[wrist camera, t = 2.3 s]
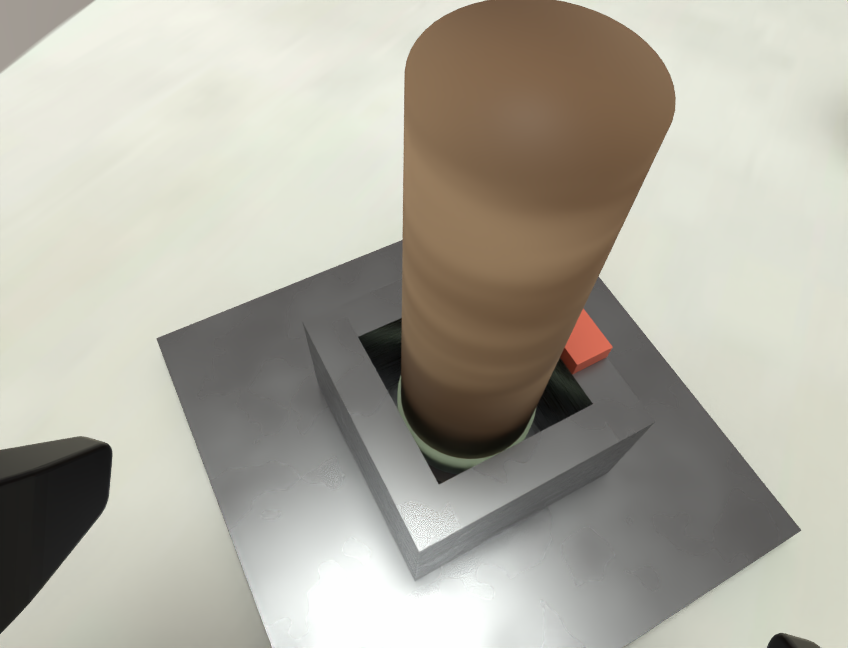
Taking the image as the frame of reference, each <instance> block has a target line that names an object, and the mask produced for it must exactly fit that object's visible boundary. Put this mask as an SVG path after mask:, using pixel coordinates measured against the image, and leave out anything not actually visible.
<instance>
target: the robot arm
mask: <svg viewBox="0 0 848 648" xmlns="http://www.w3.org/2000/svg"><path fill="white" fill-rule="evenodd" d="M111 467H112V449H111V447H110V446H109V444H107V443H105V442H102V441H99V440H95V439H91V438H88V437H82V436H79V437H73V438H67V439H61V440H55V441H49V442H44V443H38V444H32V445H26V446H20V447H15V448H9V449H3V450H0V634H1V633H2V632H3V631H4V630H5V629H6V628H7V627H8V625H9V624H10V623H11V622H12V621H13V620H14V619H15V618H16V617H17V616H18V615H19V614H20V613H21V612H22V611H23V610H24V608H25V607H26V606H27V605H28V604H29V603H30V602H31V601H32V599H33V598H34V597H35V596H36V595H37V594H38V592H39V591H40V590H41V589H42V588H43V586H44V585H45V584H46V583H47V581H48V580H49V579H50V578H51V576H52V575H53V574H54V573H55V571H56V570H57V569H58V568H59V566H60V565H61V564H62V563H63V561H64V560H65V559H66V558H67V556H68V555H69V554H70V553H71V551H72V550H73V549H74V548H75V546H76V545H77V544H78V543H79V541H80V540H81V539H82V538H83V537H84V535H85V534H86V533H87V532H88V530H89V529H90V528H91V527H92V525H93V524H94V523H95V522H96V520H97V519H98V518H99V517H100V515H101V514H102V512H103V510H104V509H105V507H106V504H107V501H108V498H109V489H110V478H111ZM767 648H820V647H819V646H818V645H817V644H815V643H814V642H812V641H809V640H806V639H803V638H799V637H796V636H792V635H788V634H784V633H779V634H776V635H774V636H773V637H772V639H771V640H770V642H769V644H768V646H767Z"/></svg>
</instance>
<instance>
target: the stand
mask: <svg viewBox="0 0 848 648" xmlns="http://www.w3.org/2000/svg"><path fill="white" fill-rule="evenodd" d="M402 253H403V240H401V241H399V242H396V243H394V244H391V245H389V246H386V247H384V248H381V249H379V250H376V251H374V252H371V253H369V254H366V255H364V256H361V257H359V258H356V259H354V260H351V261H349V262H346V263H344V264H341V265H339V266H336V267H334V268H331V269H329V270H326V271H324V272H321V273H319V274H316V275H314V276H311V277H309V278H306V279H304V280H301V281H299V282H296V283H294V284H291V285H289V286H286V287H284V288H281V289H279V290H276V291H274V292H271V293H269V294H266V295H264V296H261V297H259V298H256V299H254V300H251V301H249V302H246V303H244V304H241V305H239V306H236V307H234V308H231V309H229V310H226V311H224V312H221V313H219V314H216V315H214V316H211V317H209V318H206V319H204V320H201V321H199V322H196V323H194V324H191V325H189V326H186V327H184V328H181V329H179V330H176V331H174V332H171V333H169V334H166V335H164V336H161V337H159V338H157V341H158V344H159V346H160V349H161V352H162V354H163V357H164V360H165V362H166V365H167V368H168V370H169V373H170V376H171V378H172V381H173V384H174V386H175V389H176V392H177V395H178V397H179V400H180V403H181V405H182V408H183V411H184V413H185V416H186V419H187V421H188V424H189V427H190V429H191V432H192V435H193V437H194V440H195V443H196V445H197V448H198V451H199V453H200V456H201V459H202V461H203V464H204V467H205V469H206V472H207V475H208V477H209V480H210V483H211V485H212V488H213V491H214V493H215V496H216V499H217V501H218V504H219V507H220V509H221V512H222V515H223V517H224V520H225V523H226V525H227V528H228V531H229V533H230V536H231V539H232V541H233V544H234V547H235V550H236V552H237V555H238V558H239V560H240V563H241V566H242V568H243V571H244V574H245V576H246V579H247V582H248V584H249V587H250V590H251V592H252V595H253V598H254V600H255V603H256V606H257V608H258V611H259V614H260V616H261V619H262V622H263V624H264V627H265V630H266V632H267V635H268V638H269V640H270V643H271V646H272V648H623V647H625V646H626V645H628V644H629V643H631V642H632V641H634V640H635V639H637V638H639V637H640V636H642V635H643V634H645V633H646V632H648V631H649V630H651V629H652V628H654V627H655V626H657V625H658V624H660V623H661V622H663V621H664V620H666V619H667V618H669V617H670V616H672V615H673V614H675V613H677V612H678V611H680V610H681V609H683V608H684V607H686V606H687V605H689V604H690V603H692V602H693V601H695V600H696V599H698V598H699V597H701V596H702V595H704V594H705V593H707V592H708V591H710V590H711V589H713V588H715V587H716V586H718V585H719V584H721V583H722V582H724V581H725V580H727V579H728V578H730V577H731V576H733V575H734V574H736V573H737V572H739V571H740V570H742V569H743V568H745V567H746V566H748V565H750V564H751V563H753V562H754V561H756V560H757V559H759V558H760V557H762V556H763V555H765V554H766V553H768V552H769V551H771V550H772V549H774V548H775V547H777V546H778V545H780V544H781V543H783V542H784V541H786V540H788V539H789V538H791V537H792V536H794V535H795V534H797V533H798V532H800V531H801V529H800V528H799V527H798V526H797V524H796V523H795V522H794V521H793V519H792V518H791V517H790V516H789V514H788V513H787V512H786V511H785V509H784V508H783V507H782V506H781V504H780V503H779V502H778V501H777V499H776V498H775V497H774V496H773V494H772V493H771V492H770V491H769V489H768V488H767V487H766V486H765V484H764V483H763V482H762V481H761V479H760V478H759V477H758V476H757V474H756V473H755V472H754V471H753V469H752V468H751V467H750V466H749V464H748V463H747V462H746V461H745V459H744V458H743V457H742V456H741V454H740V453H739V452H738V451H737V449H736V448H735V447H734V445H733V444H732V443H731V442H730V440H729V439H728V438H727V437H726V435H725V434H724V433H723V432H722V430H721V429H720V428H719V427H718V425H717V424H716V423H715V422H714V420H713V419H712V418H711V417H710V415H709V414H708V413H707V412H706V410H705V409H704V408H703V407H702V405H701V404H700V403H699V402H698V400H697V399H696V398H695V397H694V395H693V394H692V393H691V392H690V390H689V389H688V388H687V387H686V385H685V384H684V383H683V382H682V380H681V379H680V378H679V377H678V375H677V374H676V373H675V372H674V370H673V369H672V368H671V367H670V365H669V364H668V363H667V362H666V360H665V359H664V358H663V357H662V355H661V354H660V353H659V352H658V350H657V349H656V348H655V347H654V345H653V344H652V343H651V342H650V340H649V339H648V338H647V337H646V335H645V334H644V333H643V332H642V330H641V329H640V328H639V327H638V325H637V324H636V323H635V322H634V320H633V319H632V318H631V317H630V315H629V314H628V313H627V312H626V310H625V309H624V308H623V306H622V305H621V304H620V303H619V301H618V300H617V299H616V298H615V296H614V295H613V294H612V293H611V291H610V290H609V289H608V288H607V286H606V285H605V284H604V283H603V281H602V280H601V279H600V278H599V276H598V278H597V280H596V282H595V285H594V287H593V289H592V291H591V293H590V295H589V297H588V299H587V301H586V304H585V306H584V308H583V310H582V312H581V314H580V316H579V318H578V320H577V322H576V325H575V327H574V329H573V331H572V333H571V335H570V337H569V339H568V341H567V343H566V346H565V348H564V350H563V352H562V354H561V356H560V358H559V360H558V362H557V364H556V367H555V369H554V371H553V373H552V375H551V377H550V379H549V381H548V383H547V385H546V388H545V390H544V392H543V394H542V396H541V398H540V400H539V402H538V404H537V407H536V412H535V417H534V420H533V423H532V425H531V427H530V429H529V431H528V433H527V435H526V437H525V439H524V441H522V442H520V443H518V444H516V445H514V446H512V447H510V448H508V449H506V450H504V451H503V452H501V453H499V454H497V455H495V456H493V457H491V458H489V459H487V460H485V461H483V462H481V463H480V464H478V465H476V466H474V467H472V468H470V469H468V470H466V471H464V472H462V473H460V474H459V475H457V476H455V477H453V478H451V479H449V480H447V481H445V482H441V481H438V480H436V478H435V477H434V475H433V473H432V471H431V469H430V467H429V466H428V464H427V462H426V460H425V458H424V457H423V455H422V453H421V451H420V449H419V447H418V446H417V444H416V442H415V440H414V438H413V436H412V435H411V433H410V431H409V429H408V427H407V426H406V424H405V422H404V420H403V418H402V416H401V415H400V413H399V411H398V409H397V392H398V384H399V380H400V376H401V335H402Z"/></svg>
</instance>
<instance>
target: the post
mask: <svg viewBox="0 0 848 648" xmlns="http://www.w3.org/2000/svg"><path fill="white" fill-rule="evenodd" d="M675 99H676V98H675V91H674V85H673V82H672V79H671V76H670V74H669V72H668V70H667V68H666V66H665V64H664V63H663V61H662V60H661V59H660V57H659V56H658V54H657V53H656V52H655V51H654V50H653V49H652V48H651V47H650V46H649V45H648V43H647V42H645V41H644V40H643V39H642V38H641V37H640V36H638V35H637V34H636V33H635V32H633V31H632V30H630V29H629V28H627V27H626V26H624V25H623V24H621V23H619V22H617V21H615V20H614V19H612V18H610V17H608V16H606V15H603V14H601V13H599V12H596V11H594V10H591V9H588V8H585V7H582V6H579V5H575V4H571V3H567V2H563V1H557V0H487V1H483V2H479V3H474V4H471V5H468V6H465V7H462V8H460V9H457V10H455V11H453V12H451V13H449V14H447V15H445V16H443V17H442V18H440V19H439V20H437V21H436V22H434V23H433V24H432V25H431V26H429V27H428V28H427V29H426V30H425V31H424V32H423V33H422V34H421V35H420V37H419V38H418V39H417V40H416V42H415V44H414V45H413V47H412V49H411V50H410V53H409V56H408V58H407V61H406V67H405V88H404V170H403V253H402V335H401V376H400V380H399V384H398V392H397V409H398V411H399V413H400V415H401V416H402V418H403V420H404V422H405V424H406V426H407V427H408V429H409V431H410V433H411V435H412V436H413V438H414V440H415V442H416V444H417V446H418V447H419V449H420V451H421V453H422V455H423V457H424V458H425V460H426V462H427V464H428V466H429V467H430V469H431V471H432V473H433V475H434V477H435V478H436V480H438V481H441V482H445V481H447V480H449V479H451V478H453V477H455V476H457V475H459V474H460V473H462V472H464V471H466V470H468V469H470V468H472V467H474V466H476V465H478V464H480V463H481V462H483V461H485V460H487V459H489V458H491V457H493V456H495V455H497V454H499V453H501V452H503V451H504V450H506V449H508V448H510V447H512V446H514V445H516V444H518V443H520V442H522V441H524V439H525V437H526V435H527V433H528V431H529V429H530V427H531V425H532V423H533V420H534V417H535V412H536V407H537V404H538V402H539V400H540V398H541V396H542V394H543V392H544V390H545V388H546V385H547V383H548V381H549V379H550V377H551V375H552V373H553V371H554V369H555V367H556V364H557V362H558V360H559V358H560V356H561V354H562V352H563V350H564V348H565V346H566V343H567V341H568V339H569V337H570V335H571V333H572V331H573V329H574V327H575V325H576V322H577V320H578V318H579V316H580V314H581V312H582V310H583V308H584V306H585V304H586V301H587V299H588V297H589V295H590V293H591V291H592V289H593V287H594V285H595V282H596V280H597V278H598V276H599V274H600V272H601V270H602V268H603V266H604V264H605V261H606V259H607V257H608V255H609V253H610V251H611V249H612V247H613V245H614V243H615V240H616V238H617V236H618V234H619V232H620V230H621V228H622V226H623V224H624V222H625V219H626V217H627V215H628V213H629V211H630V209H631V207H632V205H633V203H634V201H635V198H636V196H637V194H638V192H639V190H640V188H641V186H642V184H643V182H644V179H645V177H646V175H647V173H648V171H649V169H650V167H651V165H652V163H653V161H654V158H655V156H656V154H657V152H658V150H659V148H660V146H661V144H662V142H663V140H664V137H665V135H666V133H667V131H668V129H669V127H670V125H671V123H672V120H673V116H674V112H675Z"/></svg>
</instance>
